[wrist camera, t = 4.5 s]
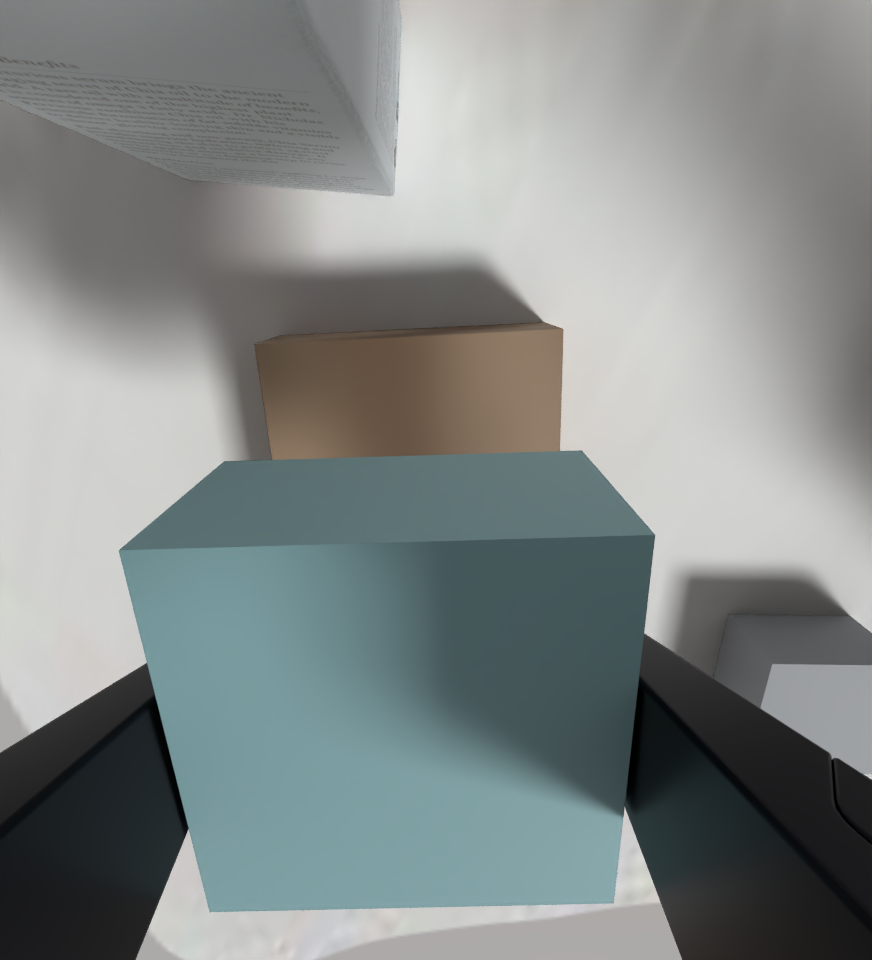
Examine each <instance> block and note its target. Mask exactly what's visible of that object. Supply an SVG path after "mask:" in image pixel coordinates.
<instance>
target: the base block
mask: <svg viewBox="0 0 872 960" xmlns="http://www.w3.org/2000/svg"><path fill="white" fill-rule="evenodd" d="M254 345H255V352H256V358H257V365H258V371H259V378H260V384H261V390H262V397H263V403H264V410H265V416H266V423H267V429H268V436H269V442H270V448H271V455H272V460H287V459H320V458H353V457H385V456H418V455H451V454H484V453H517V452H549V451H560V427H561V392H562V358H563V329H562V328H559V327H556V326H553V325H551V324H548V323H545V322H539V323H519V324H499V325H479V326H459V327H439V328H419V329H399V330H379V331H359V332H339V333H319V334H299V335H280V336H277V337H275V338H272V339H269V340H266V341H263V342H260V343H257V344H254Z"/></svg>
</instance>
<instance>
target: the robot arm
mask: <svg viewBox="0 0 872 960" xmlns="http://www.w3.org/2000/svg"><path fill="white" fill-rule="evenodd" d="M625 808H626V811H627V814H628V816H629V819H630V822H631V824H632V827H633V830H634V832H635V835H636V838H637V840H638V843H639V846H640V848H641V851H642V854H643V856H644V859H645V862H646V864H647V867H648V870H649V872H650V875H651V878H652V880H653V883H654V886H655V888H656V891H657V894H658V896H659V899H660V902H661V904H662V907H663V909H664V912H665V915H666V918H667V920H668V923H669V926H670V928H671V931H672V933H673V936H674V939H675V941H676V944H677V947H678V949H679V952H680V955H681V957H682V960H872V780H871V779H870V778H868V777H867V776H865V775H864V774H862V773H861V772H859V771H857V770H856V769H854V768H853V767H851V766H850V765H848V764H847V763H845V762H843V761H842V760H840V759H839V758H833V759H832V756H831V754H830V753H829V752H828V751H826V750H824V749H823V748H821V747H820V746H818V745H817V744H815V743H814V742H812V741H810V740H809V739H807V738H806V737H804V736H803V735H801V734H800V733H798V732H797V731H795V730H793V729H792V728H790V727H789V726H787V725H786V724H784V723H783V722H781V721H779V720H778V719H776V718H775V717H773V716H772V715H770V714H769V713H767V712H765V711H764V710H762V709H761V708H759V707H758V706H756V705H755V704H753V703H751V702H750V701H748V700H747V699H745V698H744V697H742V696H741V695H739V694H738V693H736V692H734V691H733V690H731V689H730V688H728V687H727V686H725V685H724V684H722V683H720V682H719V681H717V680H716V679H714V678H713V677H711V676H710V675H708V674H706V673H705V672H703V671H702V670H700V669H699V668H697V667H696V666H694V665H692V664H691V663H689V662H688V661H686V660H685V659H683V658H682V657H680V656H679V655H677V654H675V653H674V652H672V651H671V650H669V649H668V648H666V647H665V646H663V645H661V644H660V643H658V642H657V641H655V640H654V639H652V638H651V637H649V636H647V635H646V634H644V638H643V646H642V655H641V664H640V673H639V682H638V691H637V700H636V709H635V718H634V726H633V735H632V744H631V753H630V762H629V771H628V780H627V789H626V798H625ZM188 829H189V828H188V824H187V820H186V816H185V812H184V808H183V804H182V800H181V796H180V792H179V788H178V784H177V780H176V776H175V772H174V768H173V764H172V760H171V756H170V752H169V748H168V744H167V740H166V736H165V732H164V728H163V724H162V720H161V716H160V712H159V708H158V704H157V700H156V696H155V692H154V688H153V684H152V681H151V677H150V673H149V669H148V665H147V663H146V664H144V665H143V666H141V667H139V668H138V669H136V670H134V671H133V672H131V673H129V674H128V675H126V676H125V677H123V678H121V679H120V680H118V681H116V682H115V683H113V684H112V685H110V686H108V687H107V688H105V689H103V690H102V691H100V692H98V693H97V694H95V695H94V696H92V697H90V698H89V699H87V700H85V701H84V702H82V703H80V704H79V705H77V706H76V707H74V708H72V709H71V710H69V711H67V712H66V713H64V714H63V715H61V716H59V717H58V718H56V719H54V720H53V721H51V722H49V723H48V724H46V725H45V726H43V727H41V728H40V729H38V730H36V731H35V732H33V733H31V734H30V735H28V736H27V737H25V738H23V739H22V740H20V741H19V742H17V743H15V744H14V745H12V746H10V747H9V748H7V749H5V750H4V751H2V752H1V753H0V960H136V957H137V954H138V952H139V950H140V947H141V945H142V942H143V940H144V937H145V935H146V933H147V930H148V928H149V925H150V923H151V920H152V918H153V915H154V913H155V910H156V908H157V905H158V903H159V900H160V898H161V896H162V893H163V891H164V888H165V886H166V883H167V881H168V878H169V876H170V873H171V871H172V868H173V866H174V863H175V861H176V858H177V856H178V854H179V851H180V849H181V846H182V844H183V841H184V839H185V836H186V834H187V831H188Z"/></svg>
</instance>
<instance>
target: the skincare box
mask: <svg viewBox="0 0 872 960" xmlns="http://www.w3.org/2000/svg"><path fill="white" fill-rule="evenodd" d="M400 44H401V12H400V6H399V0H0V100H2V101H4V102H7V103H9V104H11V105H14V106H16V107H18V108H20V109H22V110H25V111H27V112H30V113H32V114H34V115H37V116H39V117H42V118H44V119H47V120H49V121H51V122H54V123H56V124H58V125H61V126H63V127H65V128H68V129H70V130H73V131H75V132H77V133H80V134H82V135H84V136H87V137H89V138H91V139H93V140H96V141H98V142H100V143H103V144H105V145H107V146H110V147H112V148H115V149H117V150H120V151H122V152H124V153H127V154H129V155H131V156H133V157H135V158H138V159H140V160H143V161H145V162H147V163H149V164H151V165H154V166H156V167H159V168H161V169H163V170H165V171H168V172H170V173H172V174H175V175H177V176H180V177H182V178H184V179H187V180H197V181H209V182H221V183H232V184H246V185H259V186H270V187H282V188H294V189H307V190H319V191H333V192H346V193H358V194H372V195H383V196H392V195H394V192H395V168H396V150H397V133H398V107H399V76H400Z"/></svg>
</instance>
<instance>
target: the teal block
mask: <svg viewBox="0 0 872 960" xmlns="http://www.w3.org/2000/svg"><path fill="white" fill-rule="evenodd" d="M654 540H655V534H654V533H653V532H652V531H651V530H650V529H649V527H648V526H647V525H646V524H645V523H644V522H643V520H642V519H641V518H640V517H639V516H638V515H637V514H636V512H635V511H634V510H633V509H632V508H631V507H630V506H629V504H628V503H627V502H626V501H625V500H624V499H623V497H622V496H621V495H620V494H619V493H618V492H617V491H616V489H615V488H614V487H613V486H612V485H611V484H610V482H609V481H608V480H607V479H606V478H605V477H604V476H603V474H602V473H601V472H600V471H599V470H598V469H597V468H596V466H595V465H594V464H593V463H592V462H591V461H590V459H589V458H588V457H587V456H586V455H585V454H584V453H583V451H549V452H517V453H484V454H451V455H418V456H385V457H353V458H320V459H287V460H254V461H224V462H223V463H222V464H221V465H219V466H218V467H217V468H216V469H215V470H213V471H212V472H211V473H210V474H209V475H208V476H206V477H205V478H204V479H203V480H202V481H200V482H199V483H198V484H197V485H196V486H194V487H193V488H192V489H191V490H190V491H189V492H187V493H186V494H185V495H184V496H183V497H181V498H180V499H179V500H178V501H177V502H176V503H174V504H173V505H172V506H171V507H170V508H168V509H167V510H166V511H165V512H164V513H162V514H161V515H160V516H159V517H158V518H157V519H155V520H154V521H153V522H152V523H151V524H149V525H148V526H147V527H146V528H145V529H144V530H142V531H141V532H140V533H139V534H138V535H136V536H135V537H134V538H133V539H132V540H131V541H129V542H128V543H127V544H126V545H125V546H123V547H122V548H121V549H120V550H119V553H120V557H121V561H122V565H123V569H124V573H125V577H126V581H127V585H128V589H129V593H130V597H131V601H132V605H133V609H134V613H135V617H136V621H137V625H138V629H139V633H140V637H141V641H142V645H143V649H144V653H145V657H146V661H147V665H148V669H149V673H150V677H151V681H152V684H153V688H154V692H155V696H156V700H157V704H158V708H159V712H160V716H161V720H162V724H163V728H164V732H165V736H166V740H167V744H168V748H169V752H170V756H171V760H172V764H173V768H174V772H175V776H176V780H177V784H178V788H179V792H180V796H181V800H182V804H183V808H184V812H185V816H186V820H187V824H188V828H189V832H190V836H191V840H192V844H193V848H194V852H195V856H196V860H197V864H198V868H199V871H200V875H201V879H202V883H203V887H204V891H205V895H206V899H207V903H208V907H209V911H210V912H235V911H281V910H327V909H373V908H419V907H465V906H511V905H557V904H603V903H614V895H615V887H616V878H617V869H618V860H619V851H620V842H621V833H622V824H623V815H624V807H625V798H626V789H627V780H628V771H629V762H630V753H631V744H632V735H633V726H634V718H635V709H636V700H637V691H638V682H639V673H640V664H641V655H642V646H643V638H644V629H645V620H646V611H647V602H648V593H649V584H650V575H651V566H652V557H653V549H654Z"/></svg>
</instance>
